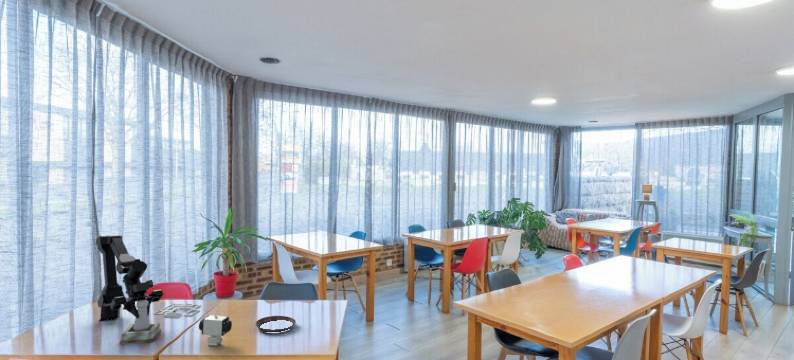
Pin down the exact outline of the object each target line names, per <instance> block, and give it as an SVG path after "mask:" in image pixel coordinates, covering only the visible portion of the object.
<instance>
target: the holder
mask: <svg viewBox="0 0 794 360" xmlns="http://www.w3.org/2000/svg"><path fill="white" fill-rule="evenodd" d="M149 323H150V325H149V328H148V330H147V331H136V332H135V330H134V329H133V327H134V323H130V324H129V325H128V326H127V327H126V328H125V330H123V332H122V333H121V337H120V338H121V339H120V341H119V343H118V345H128V344H142V343H144V344H145V343H154V342H155V341H156V339H157V338H158V336H159V335H160V333H161V331H162V328H160V322H149Z"/></svg>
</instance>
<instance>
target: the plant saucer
mask: <svg viewBox="0 0 794 360" xmlns="http://www.w3.org/2000/svg"><path fill="white" fill-rule="evenodd" d="M277 320H286V321H290V322H292V323H293V324H294V325H292V326H290V327H288V328H284V329H275V330H271V329H263V328H260V326H261V325H262V324H264V323H267V322H270V321H277ZM296 323H297V322H296V319H294V318H293V317H291V316H287V315H286V316H285V315H271V316H265V317H261V318H259V319H258V320H257V321H256V322H255V325H256V328H257V329H258V330H259V331H260V332H261V331H263V332H262V333H264V332H281V331H285V330H288V329H290V330H291V329H292V328H294V326H295V325H296Z"/></svg>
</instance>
